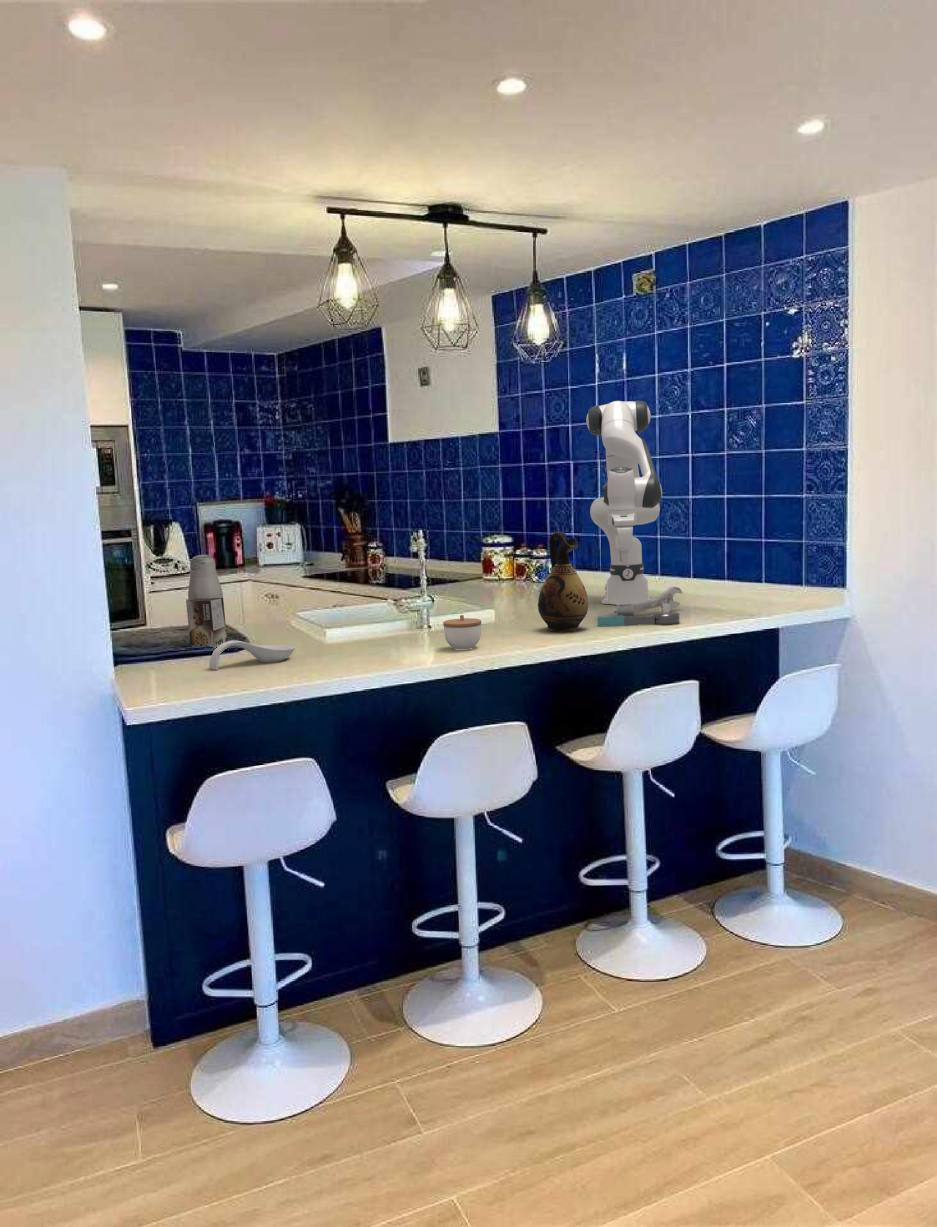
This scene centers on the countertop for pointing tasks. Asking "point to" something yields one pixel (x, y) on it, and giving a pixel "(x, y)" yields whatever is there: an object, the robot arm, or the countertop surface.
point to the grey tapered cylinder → (203, 578)
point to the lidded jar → (462, 632)
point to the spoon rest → (253, 652)
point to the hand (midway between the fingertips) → (623, 563)
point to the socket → (625, 609)
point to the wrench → (656, 601)
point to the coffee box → (206, 621)
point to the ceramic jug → (562, 589)
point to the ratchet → (641, 618)
